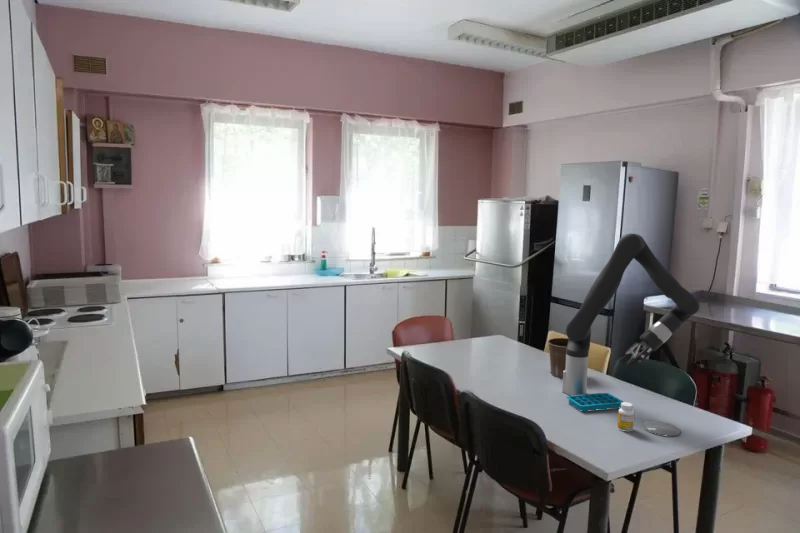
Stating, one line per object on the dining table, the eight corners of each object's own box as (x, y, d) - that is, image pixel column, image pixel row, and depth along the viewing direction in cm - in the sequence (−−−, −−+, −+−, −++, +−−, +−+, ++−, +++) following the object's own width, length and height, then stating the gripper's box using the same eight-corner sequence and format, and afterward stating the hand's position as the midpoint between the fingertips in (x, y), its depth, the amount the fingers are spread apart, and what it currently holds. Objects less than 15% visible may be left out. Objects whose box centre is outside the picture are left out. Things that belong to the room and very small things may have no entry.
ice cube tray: (624, 409, 221) (625, 402, 221) (580, 413, 216) (580, 406, 216) (607, 399, 232) (607, 392, 232) (564, 402, 228) (565, 396, 227)
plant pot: (574, 382, 252) (575, 348, 250) (540, 375, 261) (542, 342, 259) (585, 373, 264) (587, 341, 262) (553, 367, 274) (555, 336, 272)
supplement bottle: (620, 424, 205) (621, 400, 204) (635, 428, 202) (636, 403, 200) (615, 429, 201) (617, 404, 200) (630, 433, 198) (632, 408, 196)
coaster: (639, 429, 201) (639, 427, 201) (650, 420, 210) (650, 418, 210) (674, 439, 193) (674, 437, 193) (684, 429, 202) (684, 427, 202)
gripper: (642, 327, 217) (612, 354, 218) (656, 330, 203) (623, 360, 204) (655, 341, 217) (625, 368, 217) (670, 345, 203) (638, 374, 203)
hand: (624, 364), depth 211 cm, fingers open, 8 cm apart
